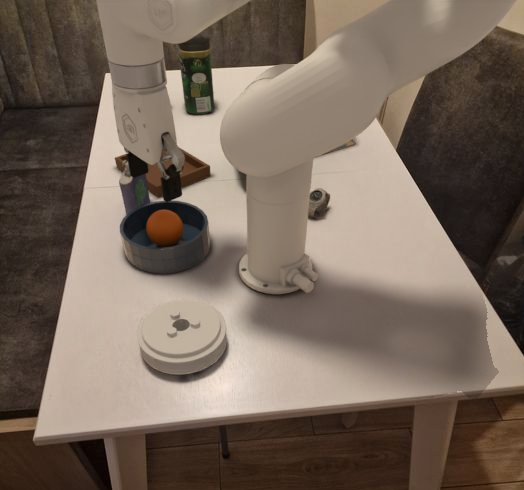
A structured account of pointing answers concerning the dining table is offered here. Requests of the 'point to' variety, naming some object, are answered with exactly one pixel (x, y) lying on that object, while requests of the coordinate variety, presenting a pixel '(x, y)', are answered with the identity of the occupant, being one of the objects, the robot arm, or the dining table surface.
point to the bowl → (165, 258)
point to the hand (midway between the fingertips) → (156, 186)
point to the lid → (182, 336)
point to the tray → (190, 173)
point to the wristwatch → (318, 202)
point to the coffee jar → (197, 74)
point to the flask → (133, 190)
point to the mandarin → (164, 228)
